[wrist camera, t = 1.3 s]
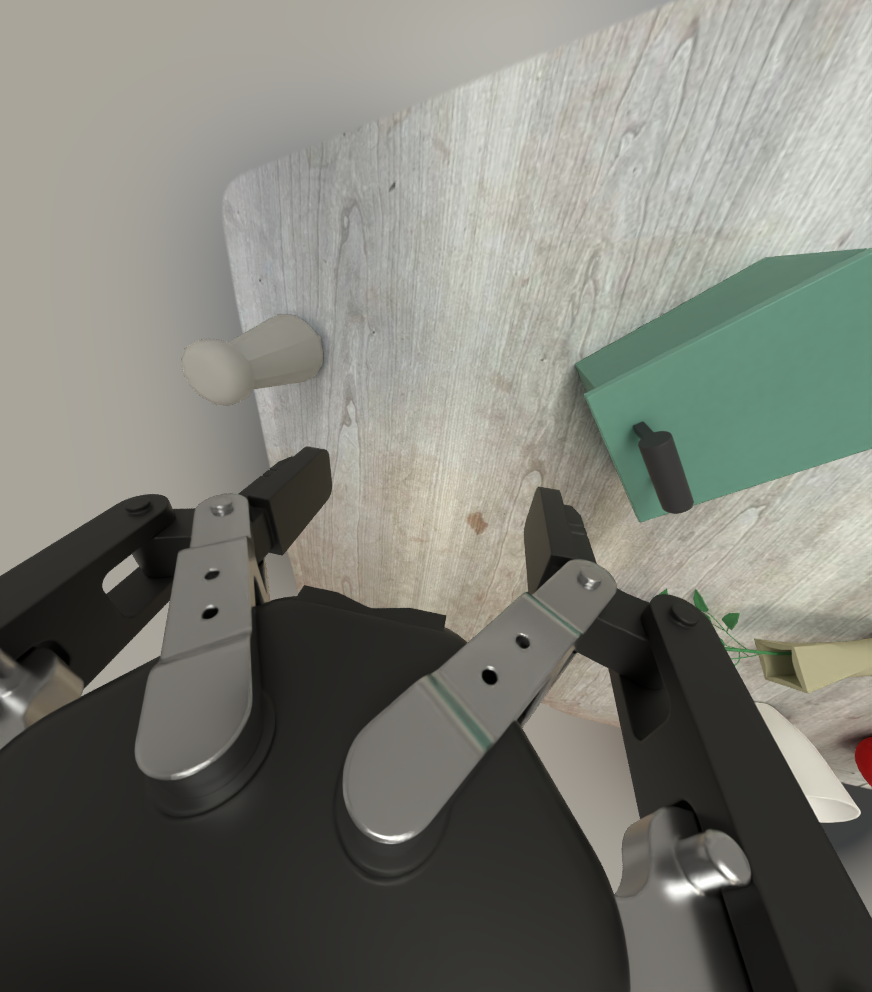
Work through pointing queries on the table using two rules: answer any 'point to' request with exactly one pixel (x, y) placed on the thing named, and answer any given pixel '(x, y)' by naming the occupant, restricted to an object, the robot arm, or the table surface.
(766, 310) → the chest lid
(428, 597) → the table surface
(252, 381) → the salt shaker
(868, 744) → the ornament
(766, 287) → the storage chest
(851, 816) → the mug
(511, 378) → the table surface
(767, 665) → the flower vase
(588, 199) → the table surface
